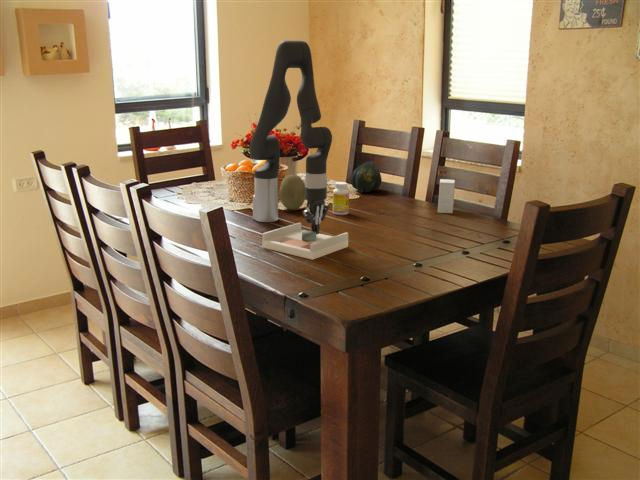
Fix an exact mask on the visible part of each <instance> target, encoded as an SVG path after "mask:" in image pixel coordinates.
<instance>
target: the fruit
mask: <svg viewBox="0 0 640 480" xmlns="http://www.w3.org/2000/svg"><path fill="white" fill-rule="evenodd" d="M279 199H280V202H281V204H282V205H283V207H285V209H287V210H290V209H294V210H298V209H300V208H301V207H302V206H303V205H304V203H305V200H306V199H305V181H304V180H303V179H302V177H301V176H299V175H297V174H288V175H286V176H285V177H284V178H283V179H282V181H281V184H280V188H279Z"/></svg>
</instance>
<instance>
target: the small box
mask: <svg viewBox="0 0 640 480" xmlns="http://www.w3.org/2000/svg"><path fill="white" fill-rule="evenodd" d="M455 187H456V180H455V179H447V178H446V179H443V178H440V179H439V188H438V189H439V190H438V202H437V203H438V204H437V205H438V206H437V213H439V214H440V213H441V214H454V213H453V212H454V204H455V203H454V201H455V189H456V188H455Z"/></svg>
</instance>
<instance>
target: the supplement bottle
mask: <svg viewBox="0 0 640 480" xmlns="http://www.w3.org/2000/svg"><path fill="white" fill-rule="evenodd" d="M347 186H348V183H347V182H344V181H336V182H335V188H334V189H333V191H332V214H333V215H337V216H345V215H348V214H349V213H350V212H349V208H350V205H349V204H350V190H349V189H348V188H347Z"/></svg>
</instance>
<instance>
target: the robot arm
mask: <svg viewBox="0 0 640 480" xmlns="http://www.w3.org/2000/svg"><path fill="white" fill-rule="evenodd" d="M275 51H276V52H275V56H274V62H273V67H272V73H271V78H270V81H269V85H268V88H267V90H266V91H267V92H266V94H265V97H264V101H263V103H262V109H261V113H260V116H259V119H258V121H257V124H256V128H255V129H254V132H253V135H252V137H251V139H250V143H249V156H250V157H251V159H253V160H254V161H265V162H264V163H263V164H262V165H261V166H260V167H258V168H256V169H255V170H254V173H253V174H254V194H253V196H252V219H253V220H255V221H256V222H259V223H272V222H276V221H278V220H279V171H280V158H281V145H280V141H279V138H278V137H277V136H276V135H270V133H271V132H272V131H273V130H274V129H275V128H276V127H277V126H279V124H280V123H281V122H283V120H284V119H285V117H286V115H287V114H288V112H289V108H290V105H291V101H292V97H291V93H290V89H289V87H288V85H287V82H286V73H287V70H288V69H300V72H301V83H300V86H299V89H298V91H297V95H296V104H297V108H298V113H299V117H300V142H301V144H302V146H303V147H304V148H306V149H317V150H316V151H315V152H314V153H313V154H310V155H308V156H306V159H305V178H304V184H305V200H306V201H307V202H306V208H305V210H303V209H302V212H301V214H302V215H303V218H304V219H305V221H306V223H308V224H311V228H310V229H311V230H310V231H315V232H316V235H317V234H320V230H321V229H320V227H321V226H320V224H321V222H323V221H324V220H325V219H326V218H325V217H326V216H327V214H328V211H329V209H330V206H329V205H326V201H325V200H327V196H328V192H327V191H328V178H327V176H328V175H327V162H328V161H327V160H328V157H329V154H330V153H329V152H330V149H331V146H332V142H333V135H332V131H331V130H330V128H329V127H327V126H316V127H313V126H312V124H316V123H318V122H319V121H320V120H321V119H322V113H321V109H320V105H319V102H318V97H317V93H316V87H315V76H314V67H313V59H312V52H311V51H312V50H311V49H310V45H309V43H308V42H306V41H303V40H282V41H280V42H279V44H278V45H277V48H276V50H275Z"/></svg>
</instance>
